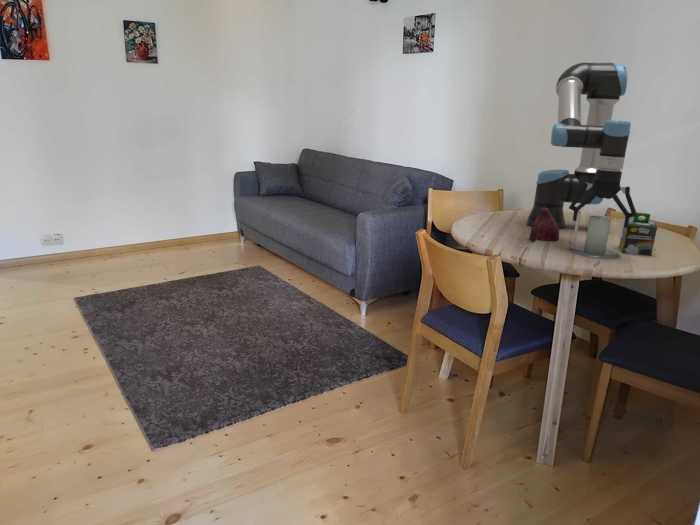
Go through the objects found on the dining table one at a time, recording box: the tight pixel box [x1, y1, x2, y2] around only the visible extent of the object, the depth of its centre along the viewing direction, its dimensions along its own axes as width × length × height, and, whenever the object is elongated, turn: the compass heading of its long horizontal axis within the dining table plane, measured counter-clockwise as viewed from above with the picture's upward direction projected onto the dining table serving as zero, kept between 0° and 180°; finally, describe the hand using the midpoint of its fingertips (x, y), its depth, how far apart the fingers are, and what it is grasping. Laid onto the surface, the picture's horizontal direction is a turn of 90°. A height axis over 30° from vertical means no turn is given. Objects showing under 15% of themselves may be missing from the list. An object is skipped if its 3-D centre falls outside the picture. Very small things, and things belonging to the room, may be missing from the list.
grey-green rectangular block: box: [584, 215, 612, 255], centre depth 174 cm, size 7×7×12 cm
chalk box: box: [618, 212, 658, 257], centre depth 177 cm, size 9×9×15 cm
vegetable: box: [528, 206, 560, 243], centre depth 190 cm, size 10×10×15 cm
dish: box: [568, 245, 621, 260], centre depth 176 cm, size 16×16×1 cm
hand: (597, 233), depth 173 cm, fingers open, 13 cm apart
